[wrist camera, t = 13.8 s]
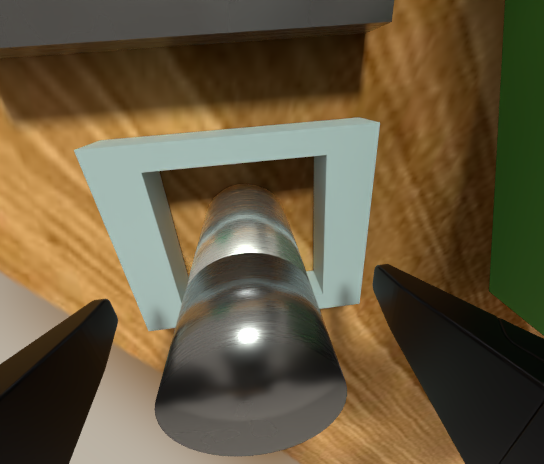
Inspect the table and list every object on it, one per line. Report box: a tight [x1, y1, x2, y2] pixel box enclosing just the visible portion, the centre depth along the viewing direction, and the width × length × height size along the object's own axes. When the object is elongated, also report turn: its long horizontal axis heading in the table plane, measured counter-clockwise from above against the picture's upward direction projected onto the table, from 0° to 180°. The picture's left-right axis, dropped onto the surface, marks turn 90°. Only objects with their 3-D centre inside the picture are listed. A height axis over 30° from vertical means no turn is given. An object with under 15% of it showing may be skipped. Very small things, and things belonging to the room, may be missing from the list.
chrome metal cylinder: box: [155, 184, 347, 456], centre depth 10 cm, size 4×4×9 cm
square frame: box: [74, 118, 380, 331], centre depth 13 cm, size 11×9×2 cm
